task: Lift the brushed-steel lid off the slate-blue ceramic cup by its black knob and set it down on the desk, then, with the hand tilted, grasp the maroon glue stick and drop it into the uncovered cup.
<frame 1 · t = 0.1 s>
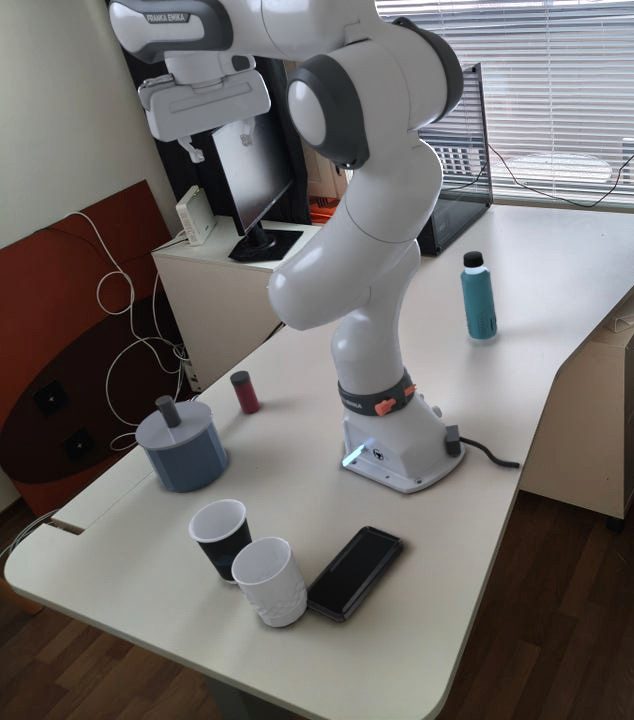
hand: (224, 153, 118), 48 cm above the table, tool pointing down, fingers open, 8 cm apart
lid: (175, 426, 119), point 10 cm above the table, touching cup
beverage bottle: (483, 338, 151), on the table
dixie cup: (241, 571, 103), on the table
phone: (355, 574, 100), on the table, touching white cup
cup: (194, 469, 124), on the table
white cup: (285, 607, 97), on the table, touching phone
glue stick: (251, 408, 138), on the table
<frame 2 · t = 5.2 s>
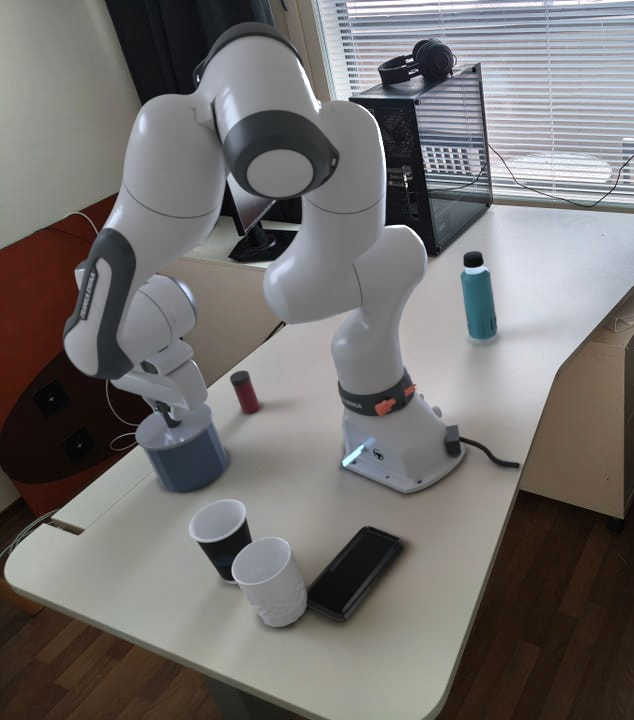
hand: (170, 415, 117), 12 cm above the table, tool pointing down, fingers closed on lid, 2 cm apart
lid: (175, 426, 119), point 10 cm above the table, touching cup, gripper
everything else where it was.
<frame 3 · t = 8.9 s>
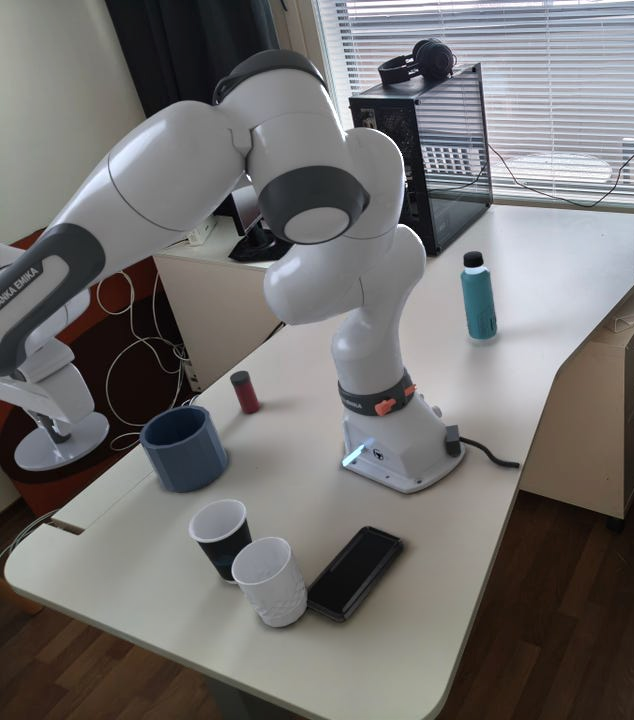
hand: (57, 429, 100), 22 cm above the table, tool pointing down, fingers closed on lid, 2 cm apart
lid: (63, 441, 101), point 20 cm above the table, touching gripper
everything else where it was.
when the fingers open (3 cm above the table, at t = 12.6 s): lid stays where it is, point 1 cm above the table.
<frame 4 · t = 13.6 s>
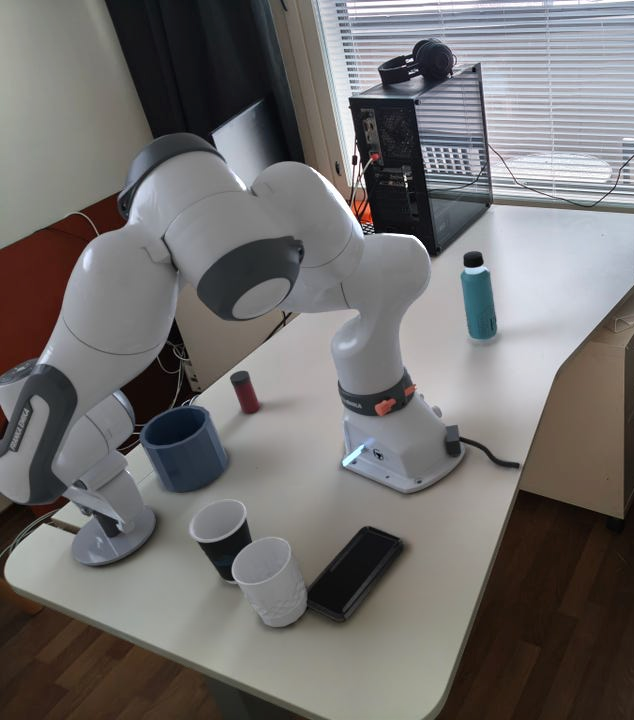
hand: (108, 521, 110), 3 cm above the table, tool pointing down, fingers open, 8 cm apart
lid: (115, 534, 112), point 1 cm above the table
everything else where it was.
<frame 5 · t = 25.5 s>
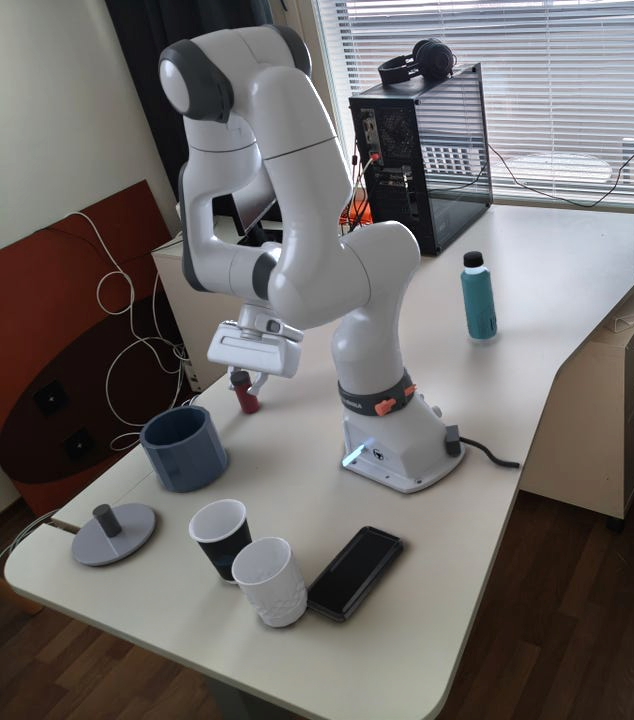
hand: (242, 392, 135), 4 cm above the table, tool tilted 45°, fingers closed on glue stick, 3 cm apart
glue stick: (251, 408, 138), on the table, touching gripper
everything else where it was.
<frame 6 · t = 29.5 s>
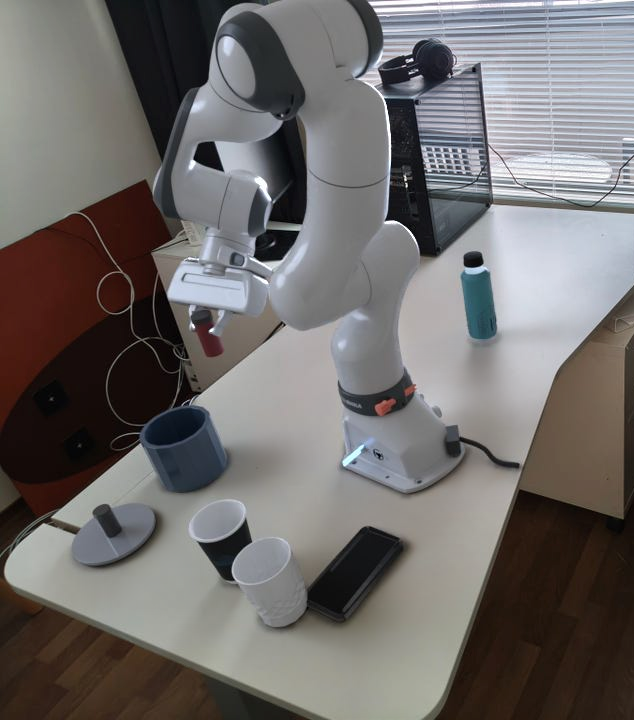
hand: (204, 333, 124), 20 cm above the table, tool tilted 45°, fingers closed on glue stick, 3 cm apart
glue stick: (215, 352, 126), point 16 cm above the table, touching gripper
everything else where it was.
when the fingers open (12 cm above the table, at t = 33.6 s): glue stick drops 7 cm, resting on cup.
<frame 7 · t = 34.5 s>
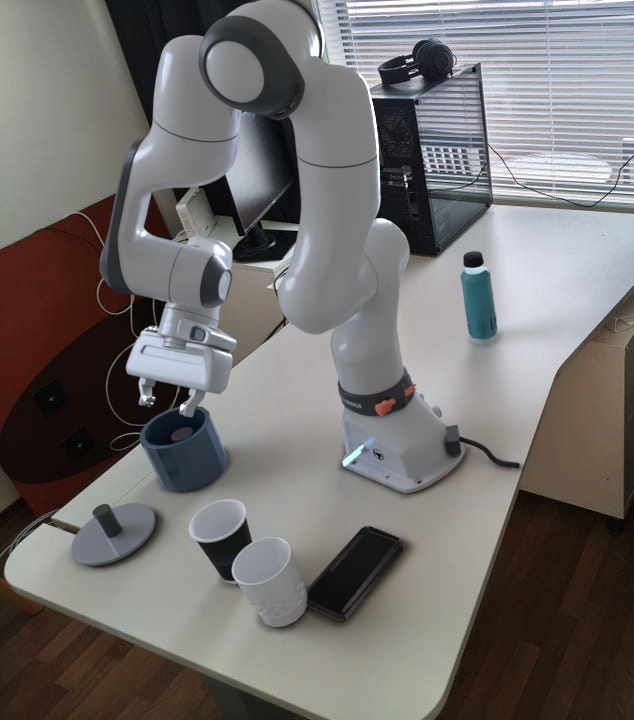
hand: (165, 411, 116), 14 cm above the table, tool tilted 45°, fingers open, 8 cm apart
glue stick: (197, 468, 123), point 1 cm above the table, touching cup
everything else where it was.
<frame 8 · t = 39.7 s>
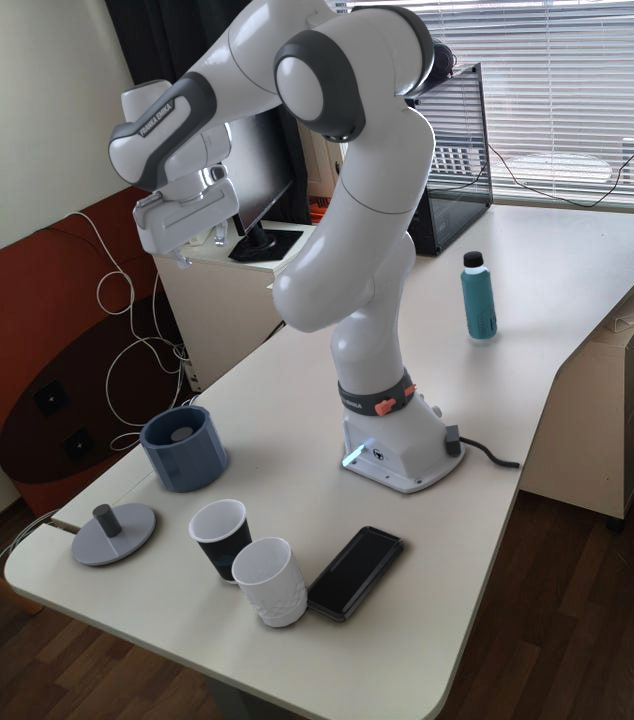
hand: (204, 256, 125), 31 cm above the table, tool pointing down, fingers open, 8 cm apart
nothing on the table moved.
at the end: lid inside the target area (0.2 cm from its centre), point 0.6 cm above the table; lid tilted 0°; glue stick inside the target area in the cup (0.9 cm from its centre), point 0.5 cm above the cup's base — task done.
